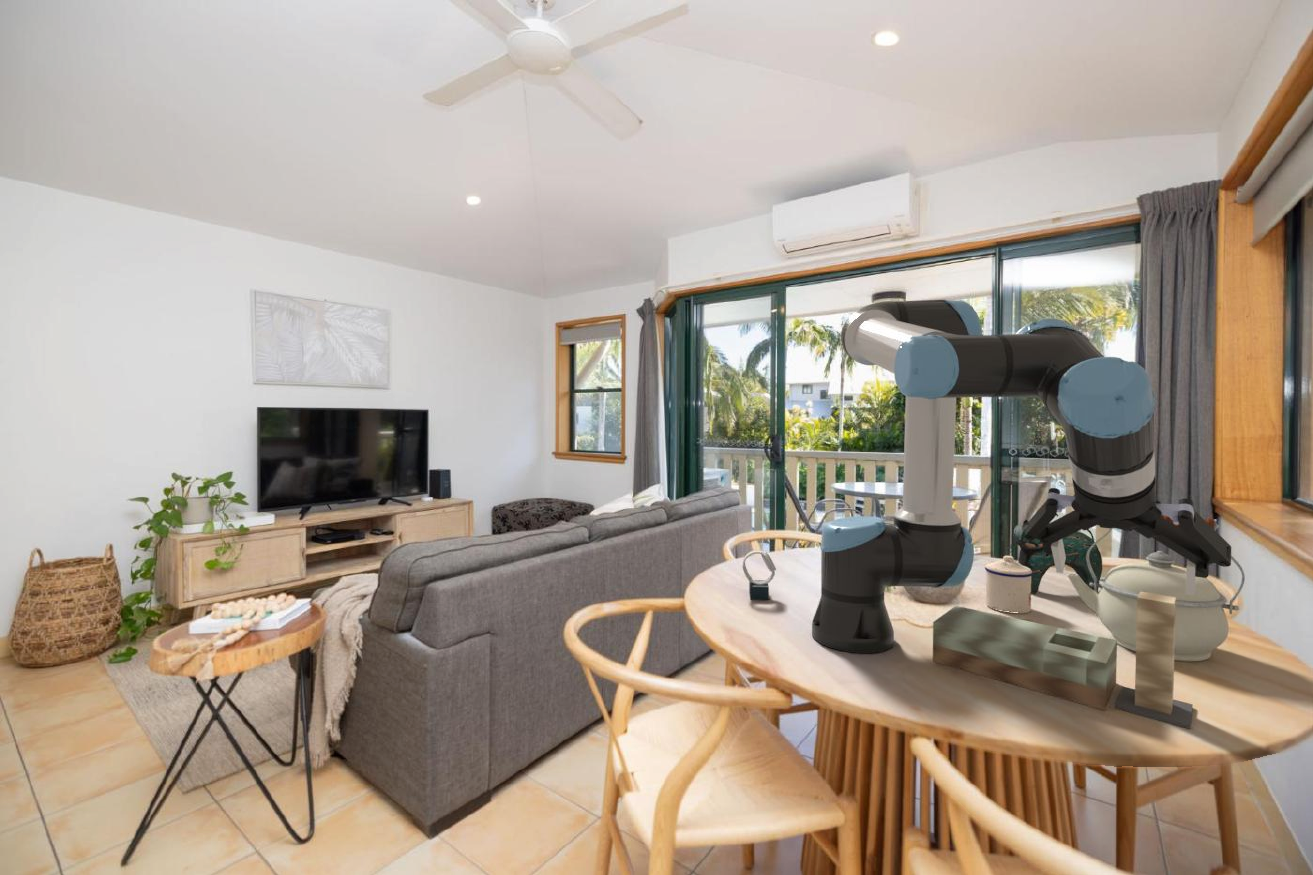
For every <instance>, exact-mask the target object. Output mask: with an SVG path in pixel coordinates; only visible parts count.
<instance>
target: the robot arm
mask: <svg viewBox="0 0 1313 875" xmlns="http://www.w3.org/2000/svg"><path fill="white" fill-rule="evenodd" d="M840 343H841V347H842V349H843V351H844V352H845V354H846V355H847V356H848V357H849V358H850V359H851V360H853V361H855V362H857V363H859V364H861V365H865V366H878V367H880V368H882V369H883V370H886V371H888V372H890V373H892V374H893V375H894V381H895V385H896V386H897V388H898V389H897V390H899V392H900V393H901V394H902V395H903V396H905V407H904V408H905V414H904V442H903V443H904V444H903V445H904V447H903V448H904V449H903V450H904V451H903V480H902V481H903V485H902V488H903V489H902V506H901V508H899V509H897V511H895V513H894V514H893V524H886V521H885V520H884V519H883V518H882V517H878V516H868V515H867V516H864V515H861V516H857V515H856V516H847V517H842V518H837V519H833V520H831V521H829V522H827V523H826V524H825V525H824V526H823V527H822V530H821V531H822V532H821V541H820V542H821V543H820V545H819V546H820V552H821V554H820V555H821V558H820V560H821V562H820V563H821V565H820V566H821V567H820V568H821V570H820V573H821V576H820V579H821V583H820V584H821V587H820V588H821V590H820V592H821V593H820V595H821V596H820V599H819V600H818V601H819V602H818V604H817V607H816V610H815V613H814V616H813V620H812V622H811V636H812V637H813V638H814V640H815V641H817V642H818V643H820V644H821V645H824V646H826V647H828V648H832V649H835V650H838V651H840V652H841V651H842V652H846V653H853V654H854V653H855V654H856V653H857V654H876V653H882V652H886V651H888V650H890V649H891V648H892V647H894V645H895V631H894V628H893V625H892V624H893V623H892V620H891V619H890V615H889V613H888V609H887V606H886V603H885V588H886V587H911V588H912V587H913V588H914V587H924V588H933V589H939V588H943V587H944V588H945V587H949V588H950V587H951V588H952V587H957V586H959V585H962V583H963V582H964V581H965V580H967V579H968V577H969V575H970V573H971V570H972V567H973V564H974V557H975V548H974V544H973V543H972V542H973V537H972V534H971V532H970V531H969V529H968V528H966V527H965V526H964V525H962V519H961V517H960V516H959V515H958V514H956V513H955V511H954V510H953V501H954V496H953V495H954V476H955V475H954V473H955V472H954V470H955V469H954V468H955V449H956V448H955V443H956V442H955V440H956V439H955V438H956V418H957V417H956V414H957V413H956V412H957V398H1031V397H1032V398H1038V399H1039V400H1040V402H1042V404H1043V406H1045V408H1046V409H1047V410H1048V411H1049V412H1050V413H1051V414H1052V415H1053V417H1054V418H1055V420H1056V421H1057V422H1058V423H1059V424H1060V427H1061V428H1062V430H1063V432H1064V437H1065V440H1066V441H1065V442H1066V446H1067V453H1068V454H1067V455H1068V461H1069V462H1068V463H1069V467H1070V474H1071V477H1072V480H1071V481H1072V485H1073V492H1074V494H1073V495H1067V494H1061V491H1060V489H1058V488H1055V487H1050V488H1049V489H1048V491H1047V492H1048V493H1047V497H1046V500H1045V502H1044V503H1043V504H1042V505H1041V506H1040V507H1039V508H1038V509H1037V511H1036V512H1035V513H1034V514H1033V515H1032V517H1031V518H1030V519H1029V521H1028V525H1027V529H1026V533H1025V538H1026V539H1028V540H1034V539H1038V540H1040V541H1041V543H1042V544H1043V549H1044V552H1045V553H1046V554H1048V555H1053V558H1054V563H1055V566H1054V567H1055V572H1056V573H1057V574H1059V573H1060V574H1064V570H1065V566H1066V565H1065V560H1066V555H1065V550H1064V545H1063V540H1062V538H1065V537H1067V536H1069V535H1071V534H1073V533H1075V532H1077V531H1078V532H1080V531H1081V530H1082V531H1084V532H1085V531H1087V529H1089V530H1090V529H1092V528H1093V527H1096V526H1099V528H1102V529H1110V528H1112V529H1117V530H1121V531H1127V532H1128V531H1129V532H1133V530H1134V531H1135V532H1136V533H1138V534H1140V535H1142V536H1143V537H1145V538H1146V539H1154V540H1155V541H1157V542H1159V543H1160V544H1162V545H1164V546H1165V547H1166V548H1168V549H1170V550H1172V551H1173V552H1174V553H1177V554H1178V555H1180V556H1181V557H1183V558H1184V559H1186V569H1187V574H1186V594H1189V595H1194V594H1195V577H1202V578H1207V579H1208V577H1209V570H1210V569H1209V567H1210V565H1213V564H1216V565H1218V566H1220V567H1224V568H1226V567H1227V568H1228V567H1230V566H1231V565H1232V559H1231V555H1232V546H1231V544H1230V543H1229V542H1227V541H1226V539H1224V538H1223V537H1222V536H1221V535H1220V534H1219V533H1218V532H1217V530H1216V531H1215V530H1214V529H1213V528H1212V527H1211V526H1210V525H1209V524H1208V523H1207V522H1206V521H1205V520H1204V519H1205V518H1203V517H1202V516H1201V515H1200V514H1199V513H1198V512H1197V511H1196V507H1195V503H1194V500H1192V499H1190V498H1185V497H1184V498H1180V499H1179V500H1178V503H1161V501H1159V499H1158V498H1157V492H1156V491H1157V486H1156V484H1157V483H1156V454H1155V452H1156V451H1155V435H1154V434H1155V428H1154V427H1155V426H1154V425H1155V424H1154V423H1155V422H1154V420H1155V418H1154V415H1155V414H1154V411H1155V406H1156V405H1155V404H1156V402H1155V400H1154V398H1155V394H1154V391H1153V389H1152V385H1151V380H1150V376H1149V373H1148V372H1147V371H1146V369H1144V367H1143V366H1141V365H1140V364H1138V363H1137V362H1134V361H1127V360H1124V359H1122V358H1121V357H1117V356H1116V357H1115V356H1104V355H1103V354H1102V352H1101V351H1099V350H1098V349H1097V348H1096V347H1095V345H1094V344H1092V343H1091V341H1090V339H1089V338H1088V337H1087V336H1086V335H1085V334H1083V333H1082V332H1081V331H1080V330H1077V329H1076V328H1075V327H1074V326H1072V325H1071V324H1070V323H1068V322H1067V321H1064V320H1063V319H1059V318H1054V317H1053V318H1052V317H1051V318H1050V317H1049V318H1040V319H1038V321H1035V322H1032V323H1027V324H1026V325H1024V326H1023V327H1021V328H1020V329H1019V330H1018V331H1017V332H1015V333H1013V334H1008V333H1007V334H989V335H986V334H985V335H984V334H983V329H982V324H981V320H980V317H979V315H978V313H977V311H976V310H975V308H974V307H973V306H972V305H971V304H970V303H969V302H967V301H964V300H955V299H945V298H943V299H931V300H930V299H929V300H928V299H926V300H924V299H923V300H902V301H901V300H900V301H899V300H898V301H894V300H890V301H888V300H887V301H885V300H884V301H879V302H875V303H871V304H868V305H867V304H866V305H865V306H862V307H861V308H859V309H858V310H856V311H854V312H853V313H852V314H851V315H849V317H848V318H847V319H846V320H845V322H844V323H843V326H842V328H841V333H840ZM1067 507H1071V508H1072V509H1073V510H1072V511H1070V512H1069V513H1067V514H1065V515H1063V516H1060V517H1059V518H1056V519H1055V520H1054V518H1055V517H1057V516H1056V514H1059V513H1060V514H1061V513H1062V511H1063V510H1065V509H1066V508H1067ZM1162 515H1165V516H1168V517H1169V518H1170V519H1171V520H1173V524H1175V525H1179V526H1180V528H1181V529H1180V528H1178V527H1177V526H1175V525H1173V524H1172V523H1170V522H1169V521H1167V520H1165V519H1164V518H1163V517H1162Z"/></svg>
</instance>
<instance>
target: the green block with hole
mask: <svg viewBox="0 0 1313 875" xmlns="http://www.w3.org/2000/svg"><path fill="white" fill-rule="evenodd" d="M1117 657H1118V644H1117V640H1113V639H1111V638H1108V637H1103V636H1099V635H1094V634H1090V633H1084V632H1080V631H1074V630H1069V629H1067V628H1066V629H1065V628H1061V627H1057V626H1052V625H1047V624H1043V623H1038V622H1034V621H1029V620H1024V619H1020V618H1019V619H1018V618H1015V617H1010V616H1007V615H1005V616H1004V615H1002V614H997V613H992V612H987V611H983V610H977V609H974V608H973V609H972V608H968V607H963V606H958V605H955V606H953V607H952V608H950V609H949V610H948V611H947V612H945V613H943V614H942V615H941V616H939V617H938V618H937V619H935V620H934V621H933V623H932V662H934V663H938V664H940V665H944V666H949V667H951V668H956V669H959V670H962V671H965V672H969V673H973V674H976V675H979V676H983V677H986V678H989V679H993V680H998V681H1000V682H1004V683H1008V684H1011V685H1014V686H1018V687H1022V688H1023V689H1024V688H1025V689H1029V690H1032V691H1036V692H1039V693H1042V694H1046V695H1049V696H1053V697H1057V698H1059V699H1062V700H1063V699H1064V700H1068V701H1071V702H1074V703H1077V704H1080V705H1084V706H1088V707H1091V708H1095V709H1098V710H1101V711H1106V710H1107V707H1108V705H1109V702H1110V700H1111V697H1112V695H1113V692H1114V689H1115V687H1116V684H1117V660H1118V659H1117Z"/></svg>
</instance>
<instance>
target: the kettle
mask: <svg viewBox="0 0 1313 875" xmlns="http://www.w3.org/2000/svg"><path fill="white" fill-rule="evenodd" d="M1162 517H1163V518H1164V519H1165V520H1167V521H1169V522H1170V523H1172V524H1173V520H1171V519H1170V518H1169V517H1168V516H1165V515H1162ZM1203 519H1204V520H1205V521H1206V522H1207V523H1208V524H1209V525H1210V526H1211V527H1212V528H1213V529H1214V530H1215V531H1216V532H1217V529H1219V528H1220V525H1219V524H1218V523H1217V519H1214V518H1212V517H1207V518H1203ZM1173 525H1175V524H1173ZM1175 526H1177V527H1178V528H1180V526H1179V525H1175ZM1180 529H1181V528H1180ZM1112 530H1113V528H1108V531H1107V532H1106V533H1104V534H1103V535H1102V536H1101V537H1100V538H1098V539H1097V540H1096V541H1094V542H1095V543H1094V544H1093V545H1092V546H1091V547H1090V548H1089V550H1088V551H1087V555H1086V560H1087V565H1088V568H1089V570H1090V573H1091V575H1092V577H1093V579H1094V583H1092V582H1091V583H1090V584H1089V585H1090V586H1091V587H1093V586H1094V590H1092V589H1091V588H1090V587H1089V586H1087V585H1086V584H1085V583H1084V581H1083V580H1082V579H1081V578H1080V576H1079V575H1078V574H1076V573H1068V574H1066V576H1067V577H1068V579H1069V581H1070V583H1071V584H1072V586H1073V588H1074V589H1075V591H1076V592H1077V594H1078V595H1079V597H1080V599H1081V600H1082V601H1083V602H1084V603H1085V604H1086V605H1087V606H1088V608H1090V609H1091V610H1092V611H1093V612H1095V613H1096V615H1097V617H1098V619H1099V621H1100V623H1102V625H1103V626H1104V627H1105V628H1106V629H1107V630H1108V631H1109V633H1108V636H1109V637H1110V638H1109V639H1113V640H1117V645H1119V646H1121V647H1123V648H1125V649H1126V650H1130V651H1132V652H1135V653H1136V631H1137V597H1138V595H1139V593H1140V592H1146V593H1152V594H1158V595H1165V596H1171V597H1176V614H1175V652H1174V662H1175V661H1176V662H1187V663H1188V662H1189V663H1190V662H1191V663H1192V662H1201V661H1202V662H1203V661H1206V660H1208V659H1210V658H1211V656H1212V651H1214V650H1215V649H1217V648H1218V647H1220V646H1221V645H1223V644H1224V642H1225V641H1226V640H1227V637H1228V635H1229V629H1230V628H1229V622H1228V618H1227V615H1226V612H1225V610H1226V609H1227V610H1228V611H1229V614H1230V615H1232V614H1233V611H1240V607H1239V606H1238V605H1234V604H1233V603H1234V601H1235V600H1236V599H1237V597H1238V596H1239V594H1240V593H1241V591H1242V589H1243V587H1244V584H1245V578H1246V577H1245V572H1244V569H1243V567H1242V566H1241V564H1240V563H1239V561H1237V560H1236V559H1235V558H1234V556H1233V555H1232V554H1231V561H1232V562H1234V564H1235V565H1236V566H1237V567H1238V569H1239V571H1240V573H1241V581H1240V583H1239V586H1238V588H1237V590H1236V592H1234V594H1233V595H1232V597H1231V598H1230V600H1229V603H1228V604H1227V601H1228V600H1227V597H1226V596H1225V595H1223V594H1222V593H1219V590H1218V589H1217V587H1216V585H1214V583H1213V582H1212V581H1211V580H1209V578H1208V577H1207V578H1202V577H1195V594H1194V595H1189V594H1186V574H1187V568H1185V567H1184V568H1183V567H1180V566H1176V565H1172V564H1174V563H1175V560H1174V559H1173V558H1172V556H1170V555H1169V554H1167V553H1165V552H1164V551H1162V550H1157V551H1156V552H1155V551H1154V552H1152V553H1149V554H1148V555H1147V556H1145V559H1146V560H1147V561H1148V562H1146V561H1144V562H1141V561H1140V562H1139V561H1138V562H1128V563H1123V564H1120V565H1117V566H1115V567H1113V568H1111V569H1110V570H1109V571H1108V572H1107V573H1106V575H1105V576H1104V577H1101V578H1100V580H1099V584H1098V583H1097V578H1096V576H1095V574H1094V572H1093V570H1092V567H1091V564H1090V560H1089V553H1090V550H1091V549H1092V548H1093V546H1094V545H1097V544H1098V543H1099V542H1100V541H1102V540H1103V539H1104V538H1105V537H1106V536H1107V535H1109V534H1110V532H1111V531H1112ZM1097 588H1098V589H1100V590H1098V592H1096V591H1097Z"/></svg>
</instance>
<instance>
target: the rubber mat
mask: <svg viewBox="0 0 1313 875" xmlns="http://www.w3.org/2000/svg"><path fill="white" fill-rule="evenodd" d="M1115 709H1118V710H1121V711H1125V712H1128V713H1132V714H1135V715H1138V716H1143V717H1146V718H1149V719H1154V720H1157V721H1161V722H1164V723H1167V724H1171V725H1175V726H1178V727H1181V728H1185V729H1187V730H1188V729H1189V730H1191V724H1192V716H1193V703H1189V702H1184V701H1180V700H1178V699H1174V698H1173V708H1172V714H1167V713H1163V712H1160V711H1156V710H1152V709H1149V708H1145V707H1141V706H1138V705H1135V688H1131V687H1127V686H1122V687H1121V690H1120V692H1119V695H1118V698H1117V700H1116V703H1115Z"/></svg>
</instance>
